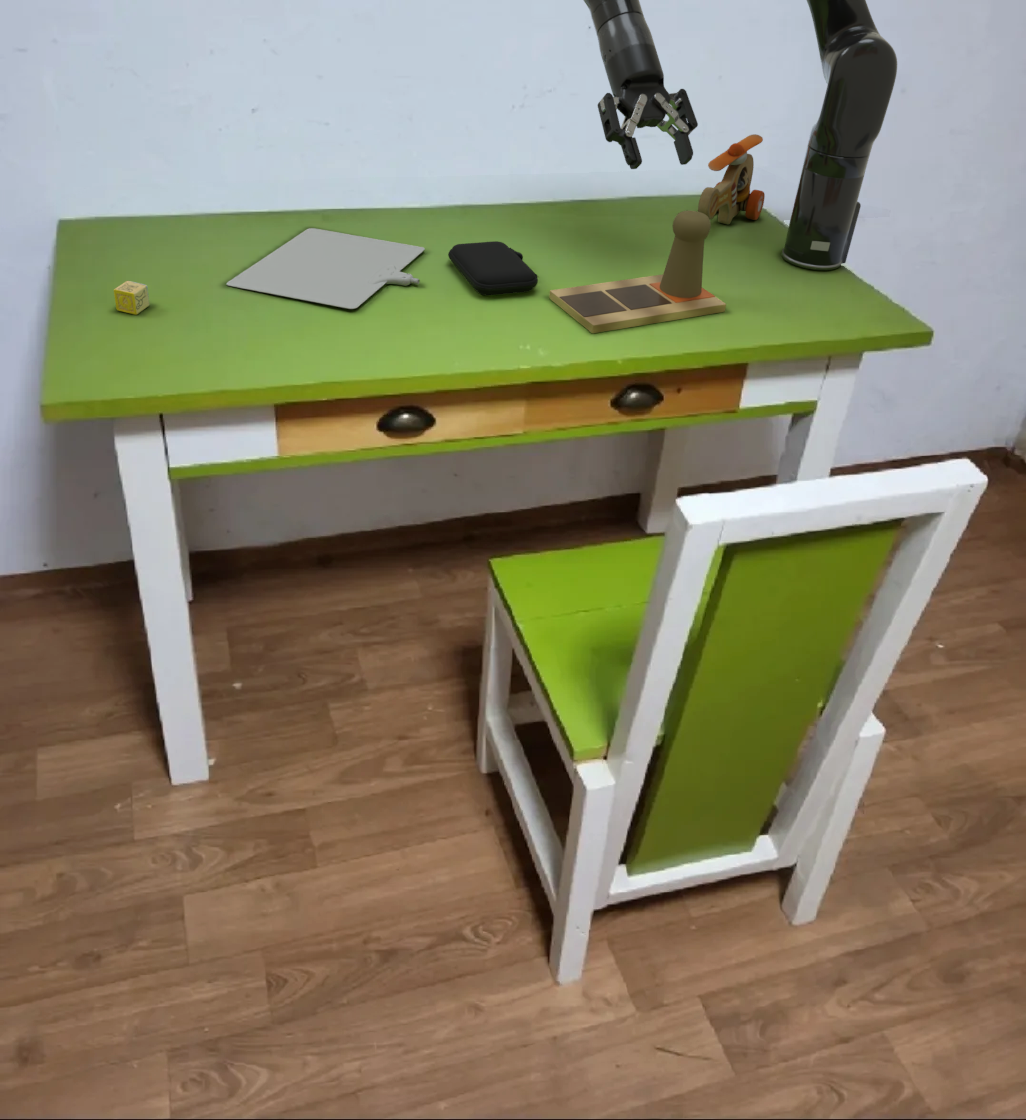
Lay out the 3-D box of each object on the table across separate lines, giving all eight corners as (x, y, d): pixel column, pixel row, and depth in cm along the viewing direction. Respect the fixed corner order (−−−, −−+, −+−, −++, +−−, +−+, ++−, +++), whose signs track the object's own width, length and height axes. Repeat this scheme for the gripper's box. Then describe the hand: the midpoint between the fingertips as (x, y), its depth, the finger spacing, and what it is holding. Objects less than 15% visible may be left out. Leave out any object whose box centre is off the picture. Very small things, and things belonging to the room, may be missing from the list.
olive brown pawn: (700, 300, 149) (714, 223, 143) (657, 294, 150) (670, 217, 143) (702, 284, 154) (716, 209, 147) (661, 278, 155) (673, 203, 148)
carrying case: (548, 294, 150) (510, 255, 161) (550, 274, 149) (512, 236, 159) (478, 301, 147) (444, 260, 158) (479, 280, 145) (444, 241, 156)
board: (676, 279, 158) (678, 271, 158) (724, 311, 150) (726, 303, 149) (548, 298, 149) (549, 289, 149) (592, 333, 141) (593, 324, 140)
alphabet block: (150, 306, 138) (147, 284, 136) (137, 315, 136) (134, 293, 134) (129, 302, 139) (126, 279, 137) (116, 311, 136) (112, 288, 134)
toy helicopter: (763, 215, 185) (781, 133, 176) (721, 249, 170) (738, 162, 162) (719, 204, 188) (734, 123, 179) (674, 237, 173) (689, 150, 165)
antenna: (381, 319, 140) (381, 310, 139) (224, 289, 145) (223, 280, 145) (450, 256, 159) (451, 248, 158) (309, 231, 164) (309, 224, 164)
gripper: (599, 42, 144) (632, 154, 143) (684, 39, 150) (717, 146, 149) (575, 74, 151) (607, 181, 150) (658, 70, 157) (689, 173, 156)
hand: (662, 164), depth 149 cm, fingers open, 8 cm apart
